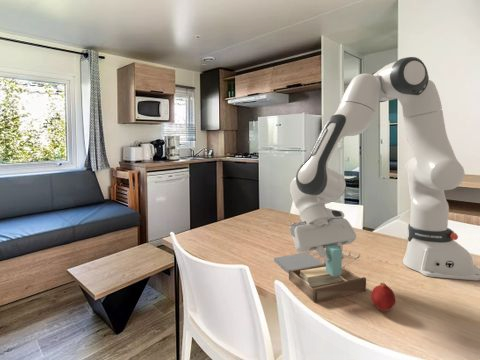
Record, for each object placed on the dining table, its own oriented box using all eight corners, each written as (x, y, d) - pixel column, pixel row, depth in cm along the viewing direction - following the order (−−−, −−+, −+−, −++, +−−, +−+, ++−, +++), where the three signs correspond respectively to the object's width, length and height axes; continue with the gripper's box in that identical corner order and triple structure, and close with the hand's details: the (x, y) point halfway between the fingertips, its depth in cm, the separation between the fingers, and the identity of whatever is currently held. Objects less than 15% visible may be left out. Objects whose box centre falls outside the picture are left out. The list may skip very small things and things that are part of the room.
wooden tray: (288, 279, 99) (288, 267, 99) (334, 270, 105) (334, 259, 104) (314, 302, 85) (314, 289, 84) (365, 290, 90) (366, 278, 90)
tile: (274, 260, 114) (274, 257, 114) (306, 255, 118) (306, 252, 118) (292, 276, 101) (292, 273, 101) (328, 269, 105) (328, 266, 105)
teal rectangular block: (325, 271, 92) (325, 246, 91) (334, 269, 93) (334, 245, 92) (332, 276, 89) (333, 250, 88) (341, 274, 90) (341, 248, 89)
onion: (380, 302, 84) (381, 275, 83) (399, 312, 79) (401, 284, 78) (365, 308, 81) (366, 280, 80) (385, 319, 76) (386, 290, 75)
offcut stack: (296, 279, 99) (296, 270, 98) (330, 272, 103) (330, 263, 102) (307, 288, 93) (307, 278, 92) (342, 280, 97) (342, 271, 97)
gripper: (290, 218, 92) (308, 261, 84) (347, 211, 98) (368, 250, 90) (284, 228, 97) (300, 270, 89) (338, 220, 103) (357, 258, 95)
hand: (335, 259), depth 90 cm, fingers closed on teal rectangular block, 3 cm apart
